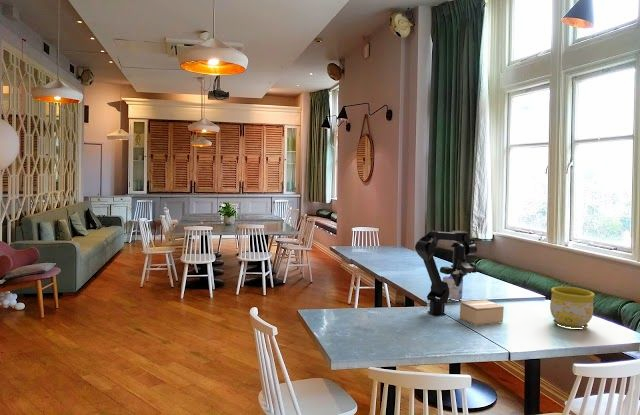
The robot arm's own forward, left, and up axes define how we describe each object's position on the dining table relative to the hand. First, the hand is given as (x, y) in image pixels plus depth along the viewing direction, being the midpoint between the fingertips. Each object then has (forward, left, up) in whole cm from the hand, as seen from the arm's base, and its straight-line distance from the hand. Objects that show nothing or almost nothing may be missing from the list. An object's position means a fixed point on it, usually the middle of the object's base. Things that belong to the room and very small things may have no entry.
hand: (457, 286), depth 250 cm
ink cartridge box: (+10, +17, -12) cm, 23 cm away
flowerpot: (+36, -37, -12) cm, 53 cm away
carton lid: (+1, -18, -5) cm, 19 cm away
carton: (+1, -18, -12) cm, 22 cm away
